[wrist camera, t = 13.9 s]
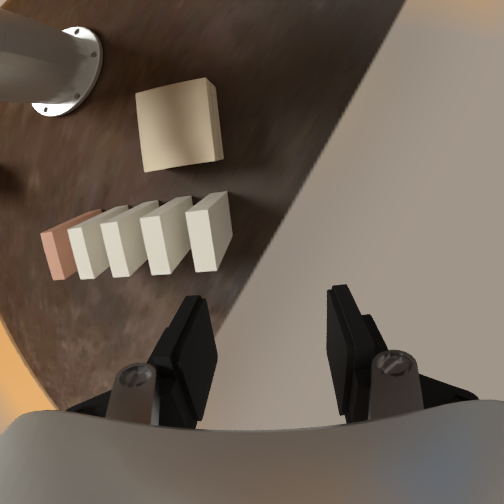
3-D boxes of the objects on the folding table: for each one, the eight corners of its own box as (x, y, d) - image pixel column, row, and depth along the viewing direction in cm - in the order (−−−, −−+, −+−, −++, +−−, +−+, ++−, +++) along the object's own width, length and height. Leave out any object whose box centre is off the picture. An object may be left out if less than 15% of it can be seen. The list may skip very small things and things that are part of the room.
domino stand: (162, 168, 32) (144, 172, 27) (154, 100, 29) (135, 93, 24) (223, 159, 31) (215, 160, 26) (215, 87, 28) (205, 77, 24)
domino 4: (183, 240, 34) (151, 275, 25) (176, 197, 33) (139, 218, 23) (198, 239, 34) (170, 273, 25) (191, 195, 33) (159, 215, 23)
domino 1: (98, 248, 36) (53, 279, 26) (90, 211, 34) (40, 233, 24) (109, 247, 35) (65, 279, 26) (101, 209, 34) (51, 231, 24)
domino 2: (123, 246, 35) (80, 279, 26) (115, 207, 34) (67, 229, 24) (136, 245, 35) (94, 278, 26) (128, 205, 33) (81, 227, 24)
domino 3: (152, 243, 35) (113, 277, 25) (144, 202, 33) (100, 223, 24) (165, 242, 35) (129, 276, 25) (158, 200, 33) (117, 221, 24)
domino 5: (216, 237, 34) (195, 272, 25) (210, 193, 32) (185, 212, 23) (232, 235, 34) (217, 270, 24) (227, 191, 32) (207, 209, 23)
